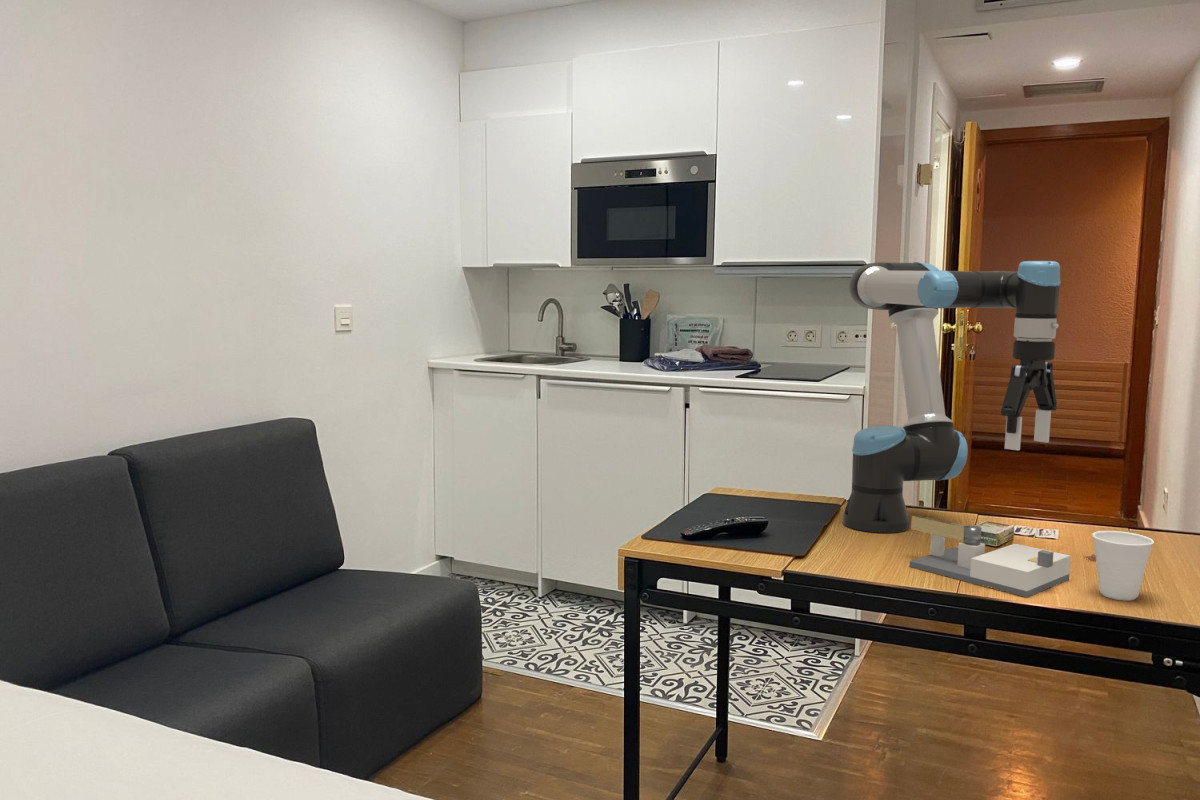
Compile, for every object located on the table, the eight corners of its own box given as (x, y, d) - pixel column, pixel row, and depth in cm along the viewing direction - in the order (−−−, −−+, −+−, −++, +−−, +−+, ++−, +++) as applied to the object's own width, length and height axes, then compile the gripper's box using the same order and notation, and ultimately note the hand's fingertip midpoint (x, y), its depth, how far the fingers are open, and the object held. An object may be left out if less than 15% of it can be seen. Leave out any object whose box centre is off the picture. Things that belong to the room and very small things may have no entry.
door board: (909, 566, 186) (911, 531, 185) (954, 552, 197) (955, 518, 196) (1031, 599, 167) (1034, 559, 166) (1074, 580, 178) (1076, 543, 177)
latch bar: (983, 542, 182) (984, 527, 182) (975, 545, 180) (976, 530, 180) (917, 527, 193) (918, 513, 193) (909, 530, 191) (909, 516, 191)
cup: (1091, 600, 166) (1096, 541, 165) (1084, 584, 175) (1088, 528, 174) (1154, 607, 163) (1159, 547, 161) (1143, 590, 172) (1148, 533, 171)
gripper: (1026, 343, 171) (1018, 455, 174) (1079, 338, 187) (1071, 440, 190) (986, 341, 176) (980, 450, 179) (1041, 336, 193) (1034, 436, 196)
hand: (1027, 445), depth 185 cm, fingers open, 13 cm apart
